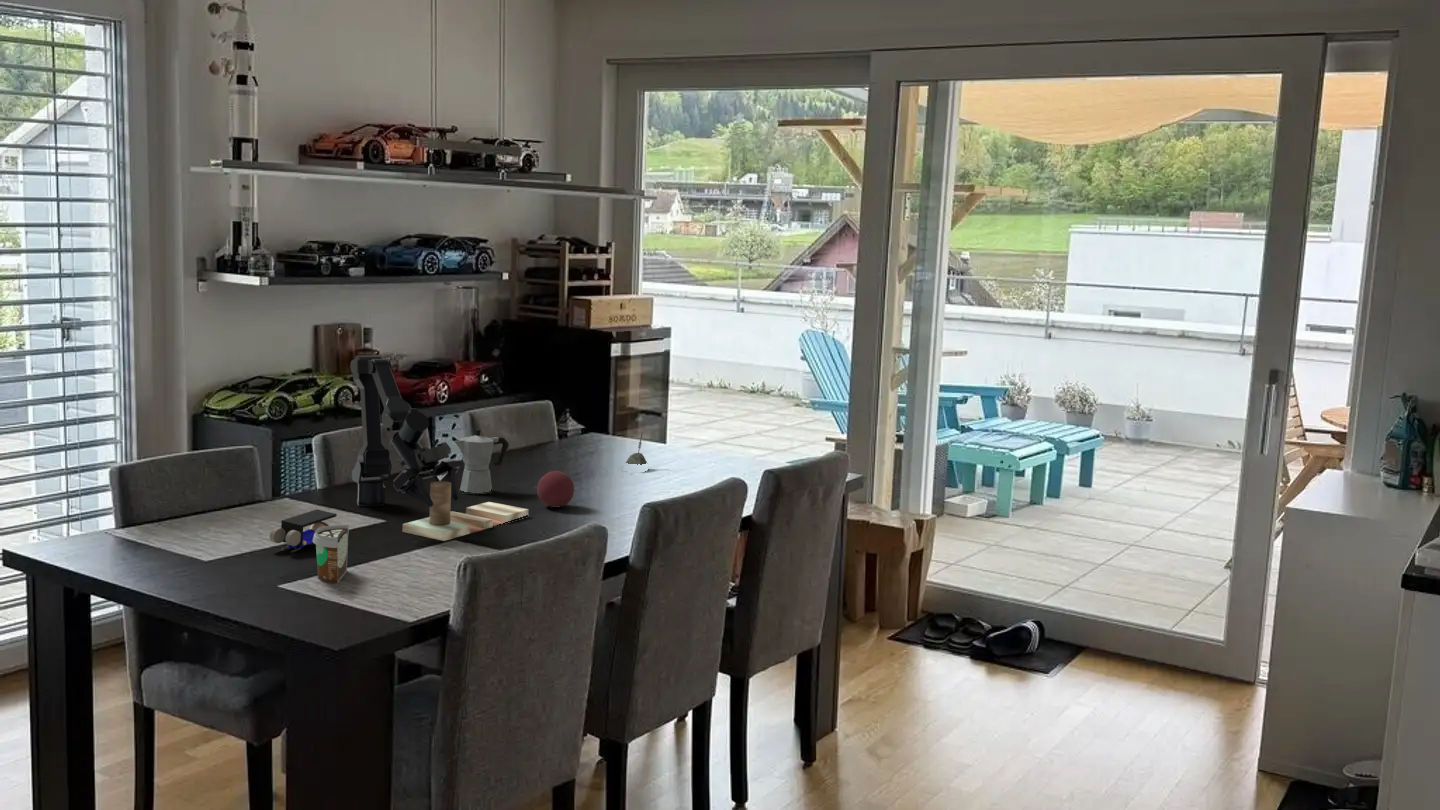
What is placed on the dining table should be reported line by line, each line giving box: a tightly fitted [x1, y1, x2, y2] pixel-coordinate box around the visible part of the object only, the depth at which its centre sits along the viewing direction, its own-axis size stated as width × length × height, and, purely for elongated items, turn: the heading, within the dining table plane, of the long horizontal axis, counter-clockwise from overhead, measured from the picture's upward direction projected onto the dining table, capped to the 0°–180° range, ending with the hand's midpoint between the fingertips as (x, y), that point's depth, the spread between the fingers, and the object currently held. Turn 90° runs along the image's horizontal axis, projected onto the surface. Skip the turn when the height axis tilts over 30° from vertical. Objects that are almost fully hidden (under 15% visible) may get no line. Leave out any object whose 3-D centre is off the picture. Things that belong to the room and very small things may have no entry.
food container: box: [312, 524, 350, 584], centre depth 271 cm, size 12×6×10 cm, turn 5°
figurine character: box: [269, 508, 338, 554], centre depth 293 cm, size 7×8×15 cm
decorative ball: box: [536, 470, 575, 507], centre depth 347 cm, size 10×10×10 cm
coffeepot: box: [453, 428, 509, 493], centre depth 360 cm, size 15×9×18 cm, turn 113°
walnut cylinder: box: [428, 480, 452, 526], centre depth 313 cm, size 5×5×10 cm
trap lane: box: [402, 501, 529, 542], centre depth 323 cm, size 33×13×2 cm, turn 152°
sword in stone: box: [625, 431, 648, 465], centre depth 405 cm, size 10×8×12 cm
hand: (444, 502), depth 312 cm, fingers open, 9 cm apart
